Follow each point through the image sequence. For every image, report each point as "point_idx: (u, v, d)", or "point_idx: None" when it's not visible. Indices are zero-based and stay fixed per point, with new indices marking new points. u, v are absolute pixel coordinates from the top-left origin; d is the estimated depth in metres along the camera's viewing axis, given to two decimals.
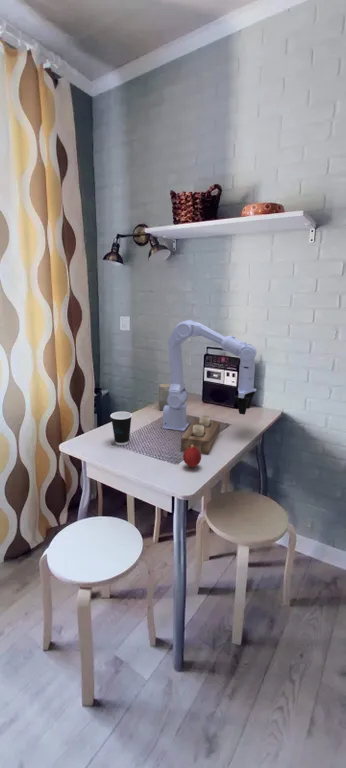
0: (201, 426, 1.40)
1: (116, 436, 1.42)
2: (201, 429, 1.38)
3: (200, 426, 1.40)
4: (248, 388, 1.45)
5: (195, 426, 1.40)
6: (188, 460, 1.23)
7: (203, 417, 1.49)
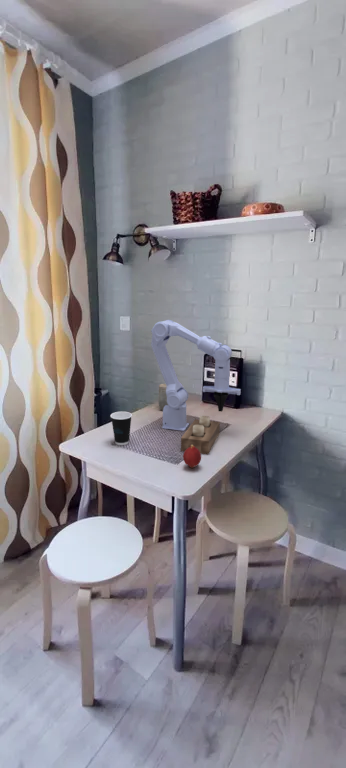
0: (201, 426, 1.40)
1: (116, 436, 1.42)
2: (201, 429, 1.38)
3: (200, 426, 1.40)
4: (214, 386, 1.49)
5: (195, 426, 1.40)
6: (188, 460, 1.23)
7: (203, 417, 1.49)
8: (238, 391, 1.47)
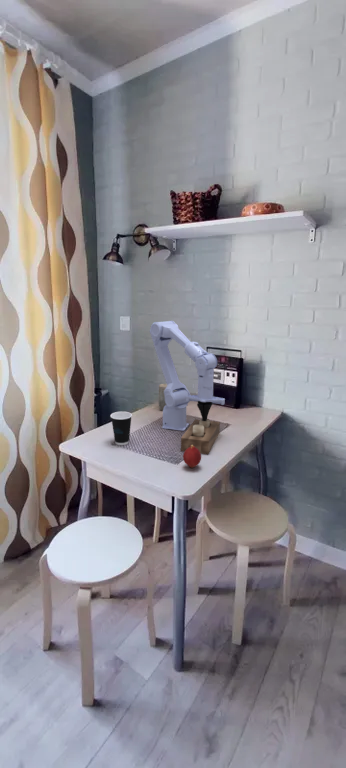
0: (201, 426, 1.40)
1: (116, 436, 1.42)
2: (201, 429, 1.38)
3: (200, 426, 1.40)
4: (198, 396, 1.46)
5: (195, 426, 1.40)
6: (188, 460, 1.23)
7: None
8: (222, 401, 1.44)
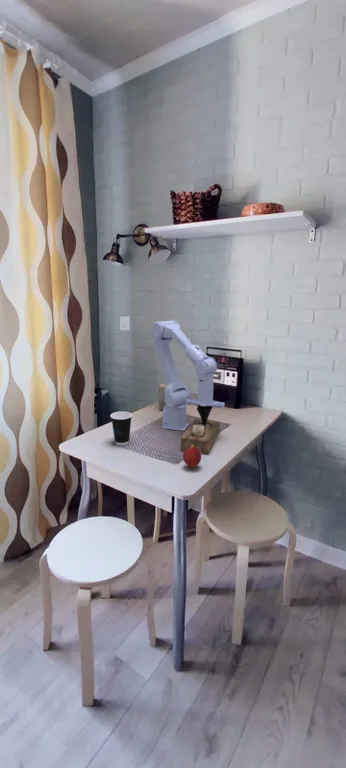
0: (201, 426, 1.40)
1: (116, 436, 1.42)
2: (201, 429, 1.38)
3: (200, 426, 1.40)
4: (198, 400, 1.46)
5: (195, 426, 1.40)
6: (188, 460, 1.23)
7: (203, 425, 1.50)
8: (222, 405, 1.44)
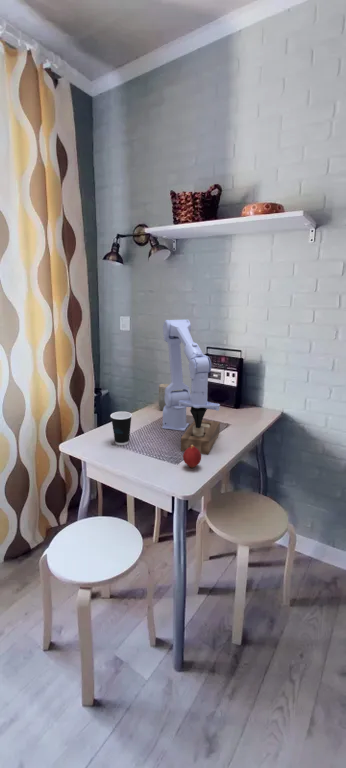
0: (201, 426, 1.40)
1: (116, 436, 1.42)
2: (201, 429, 1.38)
3: None
4: (191, 401, 1.36)
5: (195, 426, 1.40)
6: (188, 460, 1.23)
7: (203, 425, 1.50)
8: (217, 406, 1.34)
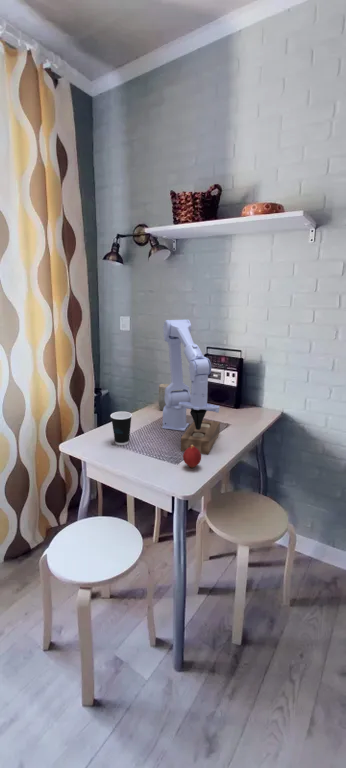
0: (201, 434, 1.41)
1: (116, 436, 1.42)
2: None
3: (200, 434, 1.41)
4: (191, 403, 1.37)
5: (195, 434, 1.40)
6: (188, 460, 1.23)
7: (203, 425, 1.50)
8: (217, 408, 1.35)
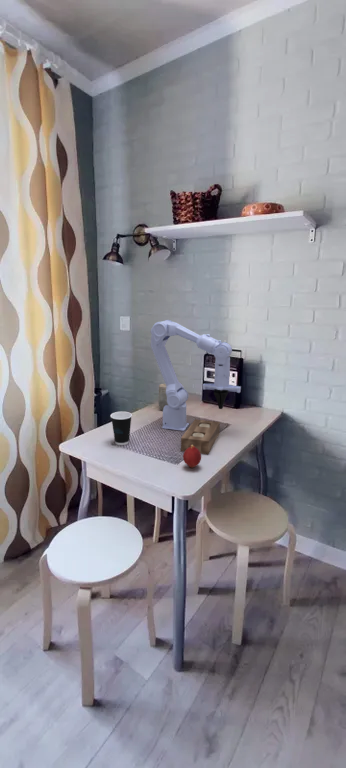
0: (201, 434, 1.41)
1: (116, 436, 1.42)
2: None
3: (200, 434, 1.41)
4: (214, 384, 1.49)
5: (195, 434, 1.40)
6: (188, 460, 1.23)
7: (203, 425, 1.50)
8: (238, 388, 1.47)
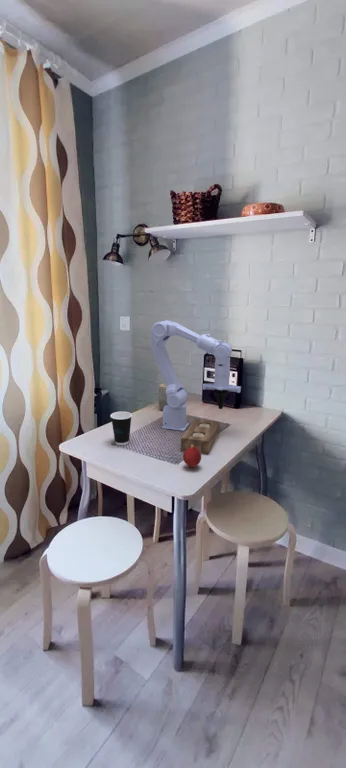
0: (201, 434, 1.41)
1: (116, 436, 1.42)
2: None
3: (200, 434, 1.41)
4: (214, 384, 1.49)
5: (195, 434, 1.40)
6: (188, 460, 1.23)
7: (203, 425, 1.50)
8: (238, 388, 1.47)
